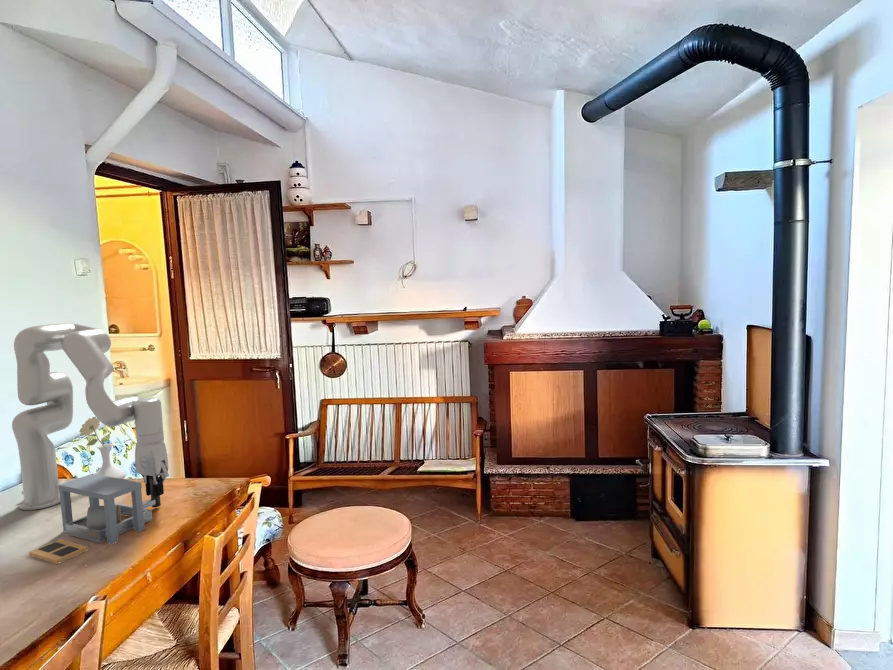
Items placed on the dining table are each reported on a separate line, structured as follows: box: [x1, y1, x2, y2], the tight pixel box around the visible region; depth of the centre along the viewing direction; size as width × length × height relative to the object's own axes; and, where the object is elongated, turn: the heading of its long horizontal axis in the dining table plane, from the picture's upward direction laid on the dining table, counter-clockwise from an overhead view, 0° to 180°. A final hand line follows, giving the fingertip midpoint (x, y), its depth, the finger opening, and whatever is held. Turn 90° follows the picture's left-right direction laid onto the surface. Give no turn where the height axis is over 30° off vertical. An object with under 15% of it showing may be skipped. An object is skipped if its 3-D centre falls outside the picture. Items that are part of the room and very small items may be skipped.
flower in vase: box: [78, 416, 127, 480], centre depth 201 cm, size 13×11×25 cm
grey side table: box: [58, 473, 146, 545], centre depth 161 cm, size 22×10×14 cm, turn 64°
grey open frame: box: [65, 476, 162, 544], centre depth 167 cm, size 15×24×10 cm, turn 154°
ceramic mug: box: [86, 503, 122, 530], centre depth 163 cm, size 11×8×8 cm
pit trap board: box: [28, 538, 89, 565], centre depth 149 cm, size 12×8×1 cm, turn 64°
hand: (155, 494), depth 177 cm, fingers closed on grey open frame, 2 cm apart
